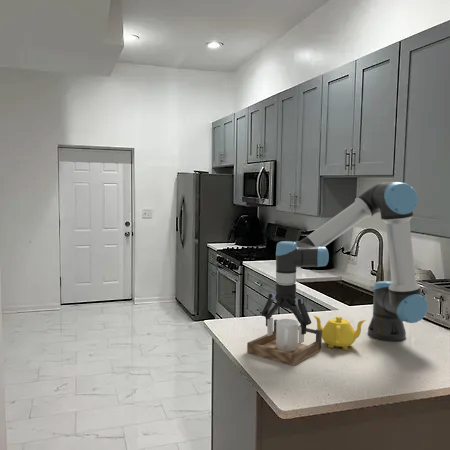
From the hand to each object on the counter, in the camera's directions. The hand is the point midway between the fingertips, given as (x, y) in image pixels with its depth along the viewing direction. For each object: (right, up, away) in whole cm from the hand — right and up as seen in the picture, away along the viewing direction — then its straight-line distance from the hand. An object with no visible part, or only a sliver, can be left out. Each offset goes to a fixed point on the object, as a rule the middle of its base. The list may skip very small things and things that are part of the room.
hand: (285, 338), depth 173 cm
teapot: (+22, -5, +7) cm, 23 cm away
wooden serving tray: (0, -5, 0) cm, 5 cm away
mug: (0, -4, 0) cm, 4 cm away
